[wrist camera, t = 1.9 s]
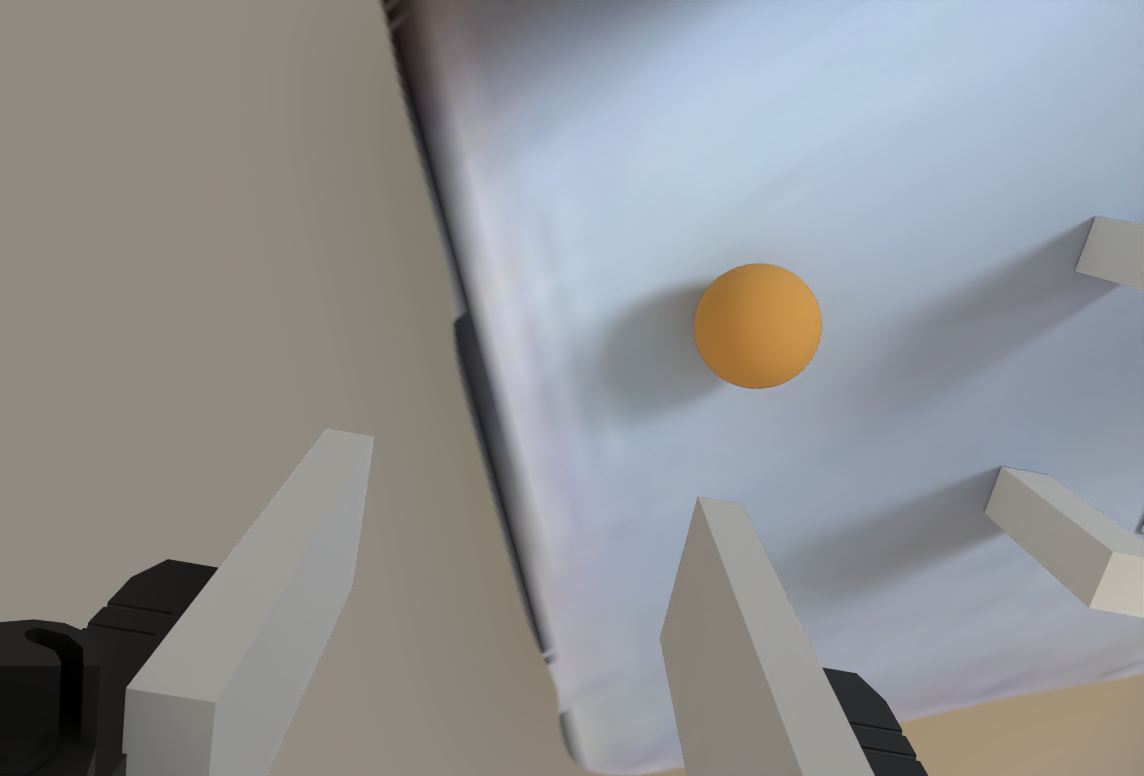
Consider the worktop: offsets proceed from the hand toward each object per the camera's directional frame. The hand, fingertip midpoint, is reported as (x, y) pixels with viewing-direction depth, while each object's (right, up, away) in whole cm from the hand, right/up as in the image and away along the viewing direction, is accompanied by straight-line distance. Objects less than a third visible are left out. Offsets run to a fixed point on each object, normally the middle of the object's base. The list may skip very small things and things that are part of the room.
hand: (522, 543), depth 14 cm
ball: (+9, +5, +24) cm, 26 cm away
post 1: (+23, -3, +29) cm, 38 cm away
